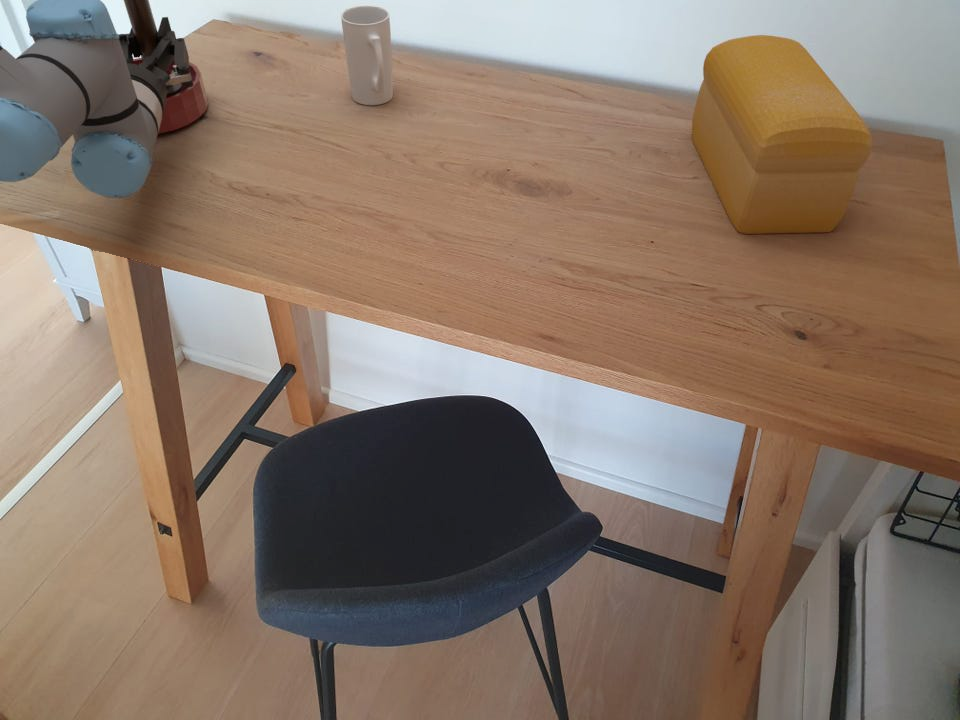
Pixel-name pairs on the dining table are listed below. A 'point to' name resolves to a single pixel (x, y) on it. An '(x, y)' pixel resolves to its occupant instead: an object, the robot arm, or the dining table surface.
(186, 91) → the bowl
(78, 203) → the dining table surface
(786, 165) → the bread
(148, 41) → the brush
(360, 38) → the mug
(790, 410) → the dining table surface
